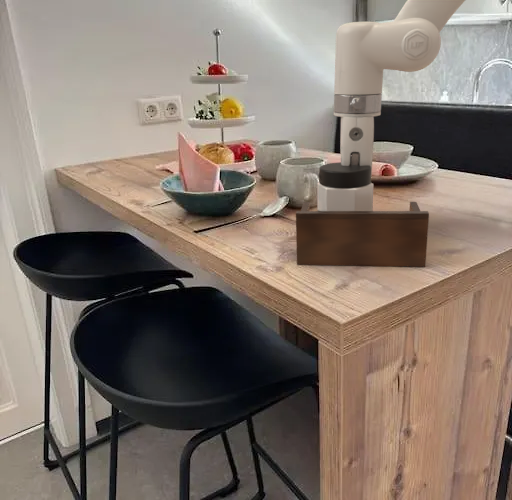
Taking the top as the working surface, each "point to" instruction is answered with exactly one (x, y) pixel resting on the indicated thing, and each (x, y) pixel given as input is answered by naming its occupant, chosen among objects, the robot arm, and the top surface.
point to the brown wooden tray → (362, 237)
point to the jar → (344, 188)
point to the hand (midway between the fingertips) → (352, 214)
